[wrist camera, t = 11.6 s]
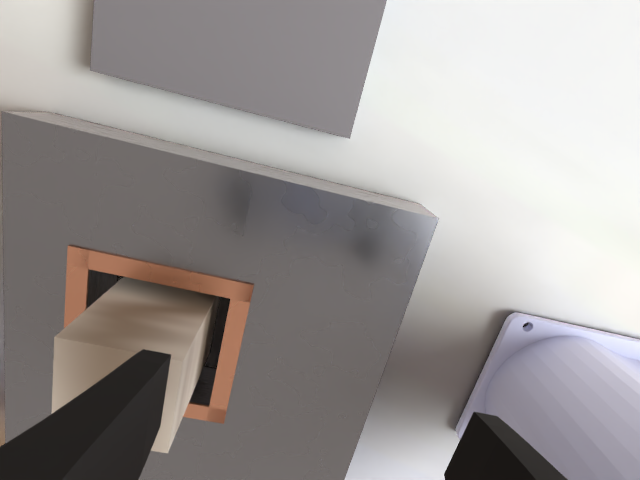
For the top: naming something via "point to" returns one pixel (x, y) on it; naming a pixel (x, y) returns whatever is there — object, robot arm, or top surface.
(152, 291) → the peg
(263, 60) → the gray square plate
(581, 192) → the top surface
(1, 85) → the top surface
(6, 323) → the hole plate
